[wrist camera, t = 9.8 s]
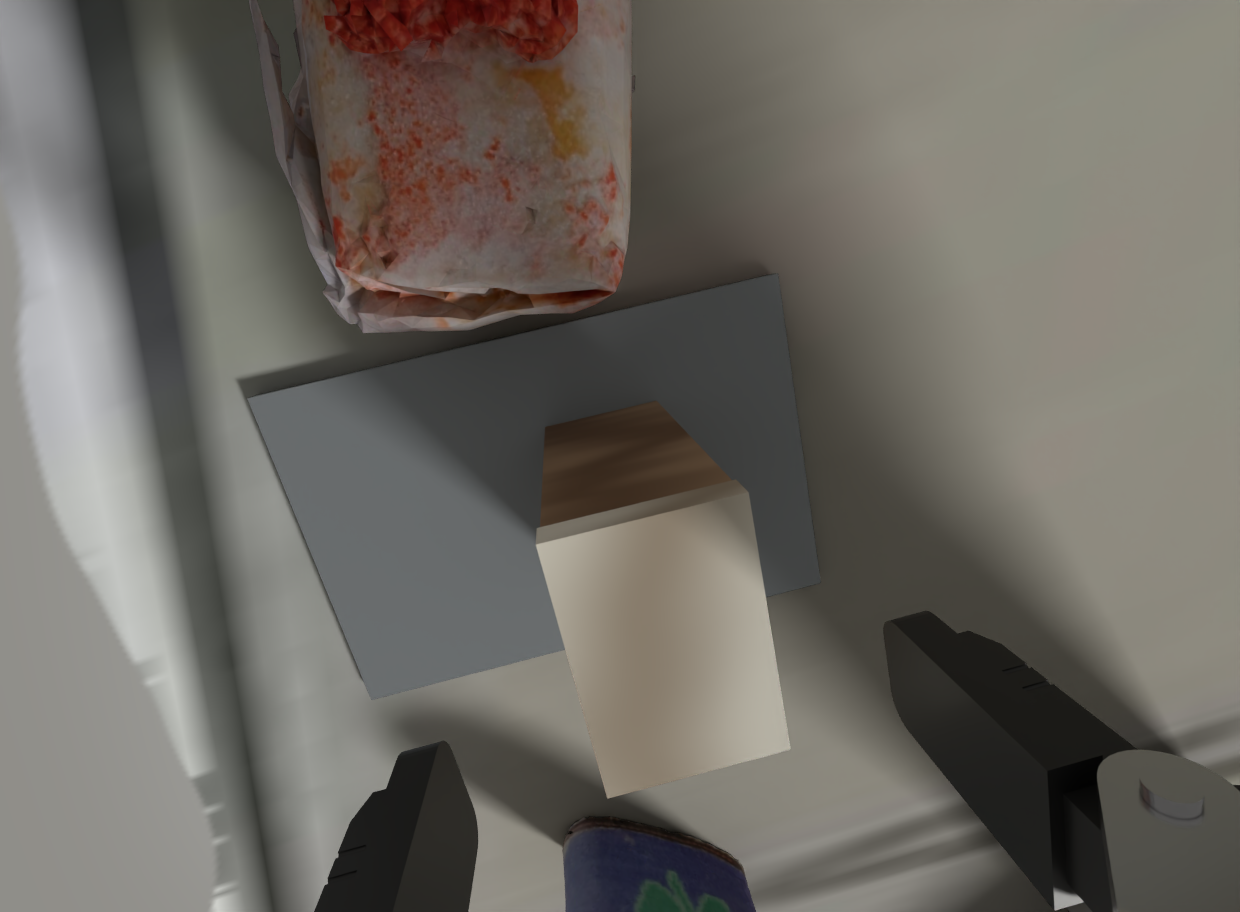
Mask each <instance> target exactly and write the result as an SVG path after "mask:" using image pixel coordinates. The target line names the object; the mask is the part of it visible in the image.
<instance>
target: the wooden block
mask: <svg viewBox="0 0 1240 912" xmlns="http://www.w3.org/2000/svg"><path fill="white" fill-rule="evenodd" d="M536 548H537V551H538V555H539V558H540V562H541V565H542V569H543V572H544V576H545V579H546V583H547V587H548V590H549V594H550V597H551V601H552V604H553V608H554V611H555V615H556V618H557V622H558V626H559V629H560V633H561V636H562V640H563V643H564V647H565V650H566V654H567V657H568V661H569V664H570V668H571V672H572V675H573V679H574V682H575V686H576V689H577V693H578V696H579V700H580V703H581V707H582V711H583V714H584V718H585V721H586V725H587V728H588V732H589V735H590V739H591V742H592V746H593V750H594V753H595V757H596V760H597V764H598V767H599V771H600V774H601V778H602V781H603V785H604V789H605V792H606V796H607V799H608V798H612V797H616V796H619V795H623V794H627V793H631V792H634V791H638V790H642V789H646V788H649V787H653V786H657V785H661V784H664V783H668V782H672V781H675V780H679V779H683V778H687V777H690V776H694V775H698V774H702V773H705V772H709V771H713V770H717V769H720V768H724V767H728V766H731V765H735V764H739V763H743V762H746V761H750V760H754V759H758V758H761V757H765V756H769V755H773V754H776V753H780V752H784V751H787V750H791V749H790V742H789V736H788V730H787V724H786V718H785V712H784V706H783V700H782V693H781V687H780V681H779V675H778V669H777V663H776V657H775V651H774V645H773V638H772V632H771V626H770V620H769V614H768V608H767V602H766V596H765V589H764V583H763V577H762V571H761V565H760V559H759V553H758V547H757V540H756V534H755V528H754V522H753V516H752V510H751V504H750V498H749V492H748V491H747V490H746V489H745V488H744V487H743V486H742V485H741V484H740V483H739V482H738V481H737V480H736V479H735V480H731V478H730V477H729V476H728V475H727V474H726V473H725V472H724V471H723V470H722V469H721V468H720V467H719V466H718V465H717V464H716V463H715V462H714V461H713V460H712V458H711V457H710V456H709V455H708V454H707V453H706V452H705V451H704V450H703V449H702V448H701V447H700V446H699V445H698V444H697V443H696V442H695V441H694V440H693V438H692V437H691V436H690V435H689V434H688V433H687V432H686V431H685V430H684V429H683V428H682V427H681V426H680V425H679V424H678V423H677V422H676V421H675V419H674V418H673V417H672V416H671V415H670V414H669V413H668V412H667V411H666V410H665V409H664V408H663V407H662V406H661V405H660V404H659V403H658V402H657V401H653V402H649V403H644V404H640V405H636V406H632V407H627V408H623V409H619V410H615V411H611V412H606V413H602V414H598V415H594V416H589V417H585V418H581V419H577V420H573V421H568V422H564V423H560V424H556V425H551V426H547V427H545V437H544V457H543V477H542V497H541V517H540V527H539V528H537V532H536Z"/></svg>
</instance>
